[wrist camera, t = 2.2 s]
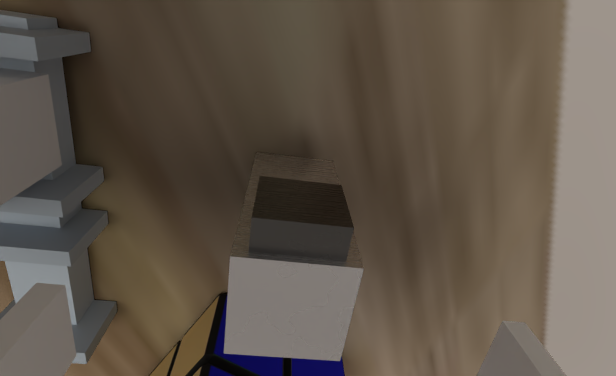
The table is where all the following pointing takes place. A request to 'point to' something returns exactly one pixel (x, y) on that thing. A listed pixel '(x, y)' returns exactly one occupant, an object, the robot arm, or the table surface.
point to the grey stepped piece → (46, 175)
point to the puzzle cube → (231, 367)
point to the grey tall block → (292, 263)
